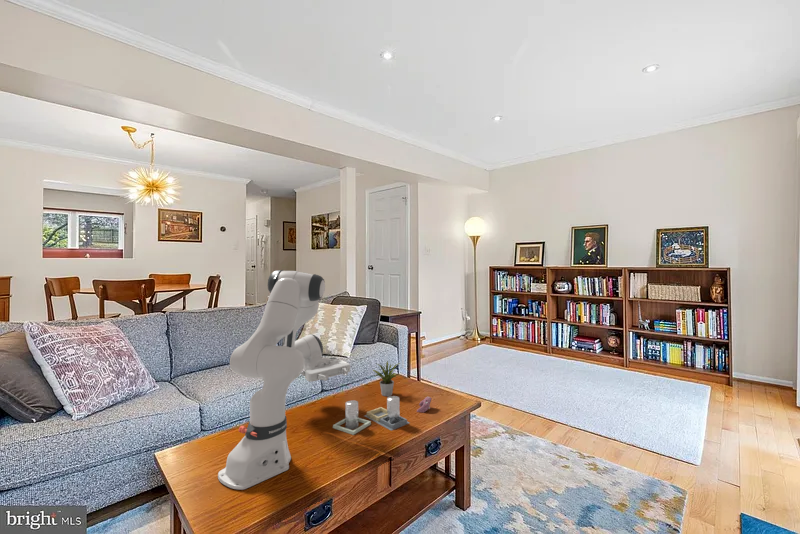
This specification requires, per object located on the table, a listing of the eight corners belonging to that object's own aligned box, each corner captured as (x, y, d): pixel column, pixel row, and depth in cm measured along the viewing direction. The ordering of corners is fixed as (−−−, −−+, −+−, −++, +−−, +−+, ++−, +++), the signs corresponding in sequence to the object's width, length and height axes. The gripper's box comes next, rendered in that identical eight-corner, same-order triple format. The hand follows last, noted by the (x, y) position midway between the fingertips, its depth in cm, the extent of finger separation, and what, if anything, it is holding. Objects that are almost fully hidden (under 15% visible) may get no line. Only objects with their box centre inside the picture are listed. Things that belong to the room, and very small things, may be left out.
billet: (395, 426, 144) (394, 401, 144) (384, 423, 147) (384, 399, 146) (402, 421, 148) (401, 397, 148) (391, 419, 151) (391, 395, 151)
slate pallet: (410, 425, 147) (410, 419, 147) (391, 433, 141) (391, 426, 141) (382, 411, 161) (382, 405, 161) (363, 418, 154) (363, 412, 154)
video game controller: (424, 419, 157) (431, 405, 156) (415, 413, 158) (422, 399, 157) (427, 409, 167) (434, 396, 166) (418, 404, 167) (425, 391, 167)
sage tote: (353, 438, 138) (353, 431, 138) (332, 430, 143) (332, 425, 143) (370, 427, 146) (370, 421, 146) (350, 420, 152) (350, 415, 152)
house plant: (392, 386, 193) (392, 355, 192) (408, 394, 181) (407, 361, 181) (369, 392, 185) (368, 360, 184) (383, 401, 173) (383, 366, 173)
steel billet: (352, 431, 141) (352, 406, 141) (343, 428, 144) (342, 403, 144) (361, 426, 146) (360, 402, 145) (351, 423, 148) (351, 399, 148)
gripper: (299, 365, 157) (313, 374, 147) (340, 356, 170) (356, 363, 160) (299, 380, 158) (314, 389, 147) (340, 369, 171) (356, 377, 160)
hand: (336, 376), depth 154 cm, fingers open, 8 cm apart
